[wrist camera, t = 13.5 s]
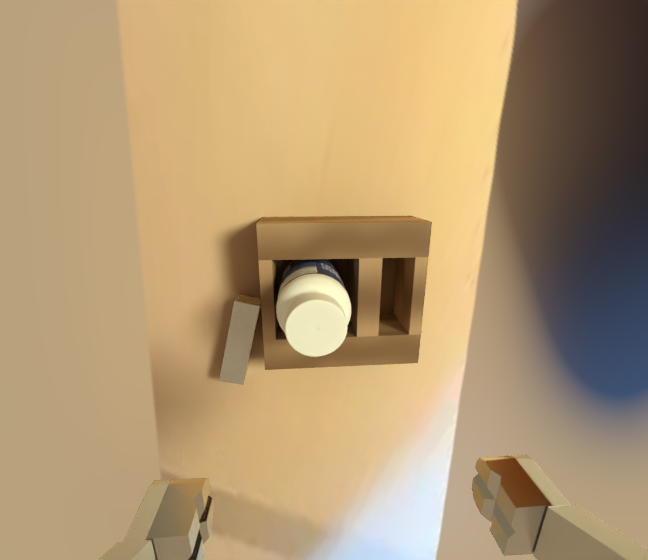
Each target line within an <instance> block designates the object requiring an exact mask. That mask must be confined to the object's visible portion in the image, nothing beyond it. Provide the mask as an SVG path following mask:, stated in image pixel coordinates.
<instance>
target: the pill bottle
mask: <svg viewBox="0 0 648 560" xmlns="http://www.w3.org/2000/svg"><path fill="white" fill-rule="evenodd" d="M276 313H277V319H278V322H279V325H280V327H281V328H282V330H283V331H284V333H285V335H286V338H287V340H288V342H289V344H290V345H291V346H292V347H293V348H294V349H295V350H296V351H297V352H299V353H301V354H303V355H306V356H311V357H318V356H324V355H327V354H329V353H332V352H333V351H335V350H336V349H337V348H338V347H339V346H340V345H341V344H342V343H343V341H344V339H345V337H346V334H347V325H348V323H349V321H350V317H351V303H350V299H349V296H348V293H347V291H346V289H345V287H344V284H343V282H342V280H341V278H340V275H339V273H338V272H337V270H336V268H335V267H334V265H333V264H332V263H331V262H329V261H328V260H327V259H305V260H293V261H292V262H290V263H289V264H288V266H287V267H286V268H285V270H284V272H283V275H282V278H281V283H280V288H279V294H278V300H277V305H276Z"/></svg>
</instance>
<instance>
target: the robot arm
mask: <svg viewBox="0 0 648 560" xmlns="http://www.w3.org/2000/svg"><path fill="white" fill-rule="evenodd" d="M476 470H477V471H478V474H477V475H476V476H475V477H474V478H473V483H472V491H473V496H474V500H475V502H476V505H477V507H478V509H479V511H480V513H481V514H482V515H483V516H484V517H485V518H486V519H488V520H489V521H490V522H491V524H490V531H491V533H492V535H493V537H494V538H495V540H496V542H497V544H498V546H499V548H500V549H501V551H502V553H503V555H504V556H505V555H522V554H534V557H535V558H536V559H538V560H648V549H647V548H645V547H644V546H642V545H640V544H639V543H637V542H636V541H634V540H632V539H631V538H629V537H627V536H626V535H624V534H623V533H621V532H619V531H618V530H616V529H615V528H613V527H611V526H610V525H608V524H607V523H605V522H603V521H601V520H600V519H599V518H597V517H595V516H593V515H592V514H590V513H589V512H587V511H586V510H584V509H582V508H581V507H579V506H578V505H576V504H570V503H569V502H568V501H567V500H566V498H565V497H564V496H563V495H562V494H561V492H560V491H559V490H558V489H557V488H556V487H555V485H554V484H553V483H552V482H551V481H550V479H549V478H548V477H547V476H546V475H545V473H544V472H543V471H542V470H541V469H540V467H539V466H538V465H537V464H536V463H535V462H534V460H533V459H532V458H531V457H529V456H528V455H517V456H516V455H515V456H499V457H487V458H479V459H478V460H477V462H476ZM210 488H211V485H210V480H209V478H192V479H172V480H154V482H153V483H152V484H151V485H150V486H149V488H148V490H147V493H146V494H145V497H144V499H143V501H142V503H141V505H140V507H139V509H138V511H137V513H136V516H135V518H134V520H133V522H132V524H131V526H130V528H129V530H128V532H127V534H126V536H125V538H124V541H123V542H119V543H116V544H115V545H114V546H113V547H112V548H111V549H110V550H109V551H107V552H106V553H105V554H104V555H103V556H102V557H101V558H100V559H99V560H204V556H205V554H204V548H203V544H204V543H205V542H206V540H207V539H208V538H209V536H210V531H211V527H212V520H213V499H212V498H211V497H210V496H209V491H210Z"/></svg>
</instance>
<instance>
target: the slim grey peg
mask: <svg viewBox="0 0 648 560" xmlns="http://www.w3.org/2000/svg"><path fill="white" fill-rule="evenodd" d="M260 307H261V298H257V297H252V296H247V295H242V294H238V295H237V297H236V299H235V300H234V305H233V310H232V315H231V320H230V326H229V331H228V336H227V342H226V347H225V352H224V357H223V363H222V368H221V373H220V379H219V381H225V382H230V383H236V384H242V385H243V383H244V380H245V376H246V372H247V367H248V363H249V358H250V353H251V349H252V344H253V339H254V335H255V330H256V325H257V321H258V316H259V311H260Z"/></svg>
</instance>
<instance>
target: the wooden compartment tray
mask: <svg viewBox="0 0 648 560" xmlns="http://www.w3.org/2000/svg"><path fill="white" fill-rule="evenodd" d="M431 225H432V222H430V221H427V220H423V219H420V218H416V217H413V216H347V217H262V218H261V219H260V220H259V221H258V222H257V223H256V230H257V247H258V263H259V279H260V296H261V312H262V328H263V344H264V361H265V370H270V369H292V368H315V367H337V366H360V365H382V364H405V363H418V357H419V347H420V337H421V326H422V316H423V306H424V296H425V286H426V276H427V265H428V255H429V245H430V235H431ZM383 258H397V270H396V284H395V298H394V313H393V314H380V297H381V279H382V261H383ZM305 259H350V269H349V299H350V303H351V317H350V321H349V323H348V325H347V334H346V337H345V339H344V341H343V343H342V344H341V345H340V346H339V347H338V348H337V349H336V350H335V351H333V352H332V353H329V354H327V355H324V356H318V357H311V356H306V355H303V354H301V353H299V352H297V351H296V350H295V349H294V348H293V347H292V346H291V345H290V344H289V342H288V340H287V338H286V335H285V333H284V331H283V330H282V328H281V327H280V325H279V322H278V319H277V313H276V305H277V300H278V288H277V265H276V260H305Z"/></svg>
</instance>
